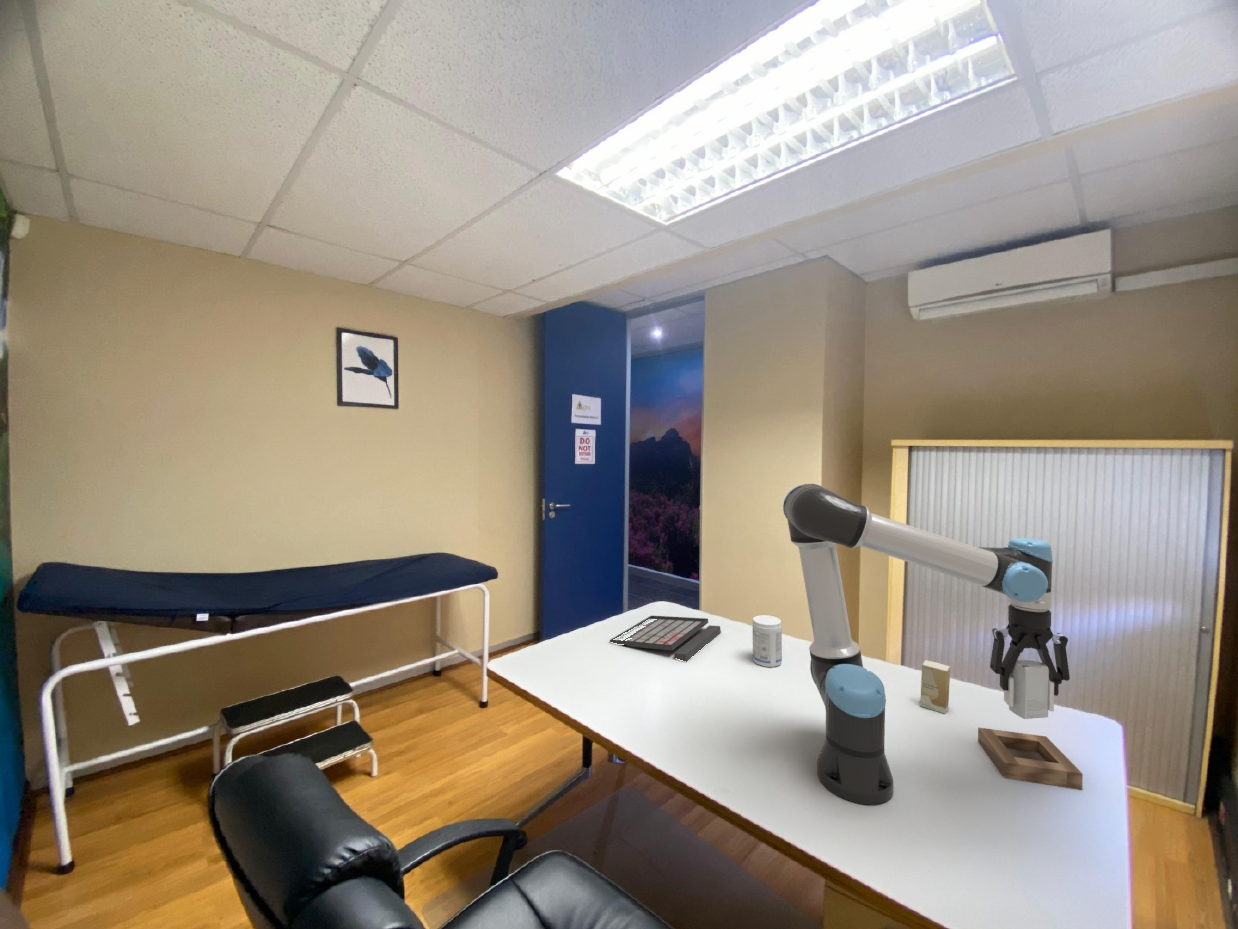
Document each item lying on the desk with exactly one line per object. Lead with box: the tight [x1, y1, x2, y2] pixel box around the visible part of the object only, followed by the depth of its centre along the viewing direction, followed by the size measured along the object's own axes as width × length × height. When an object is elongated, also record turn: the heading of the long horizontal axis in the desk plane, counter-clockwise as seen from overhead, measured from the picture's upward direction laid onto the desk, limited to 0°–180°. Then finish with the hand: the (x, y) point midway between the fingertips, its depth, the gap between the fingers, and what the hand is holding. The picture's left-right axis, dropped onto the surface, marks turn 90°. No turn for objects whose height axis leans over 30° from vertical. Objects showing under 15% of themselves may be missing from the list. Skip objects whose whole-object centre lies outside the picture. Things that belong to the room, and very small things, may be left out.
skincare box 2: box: [1008, 658, 1049, 720], centre depth 112 cm, size 6×4×12 cm
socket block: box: [977, 727, 1084, 791], centre depth 113 cm, size 14×14×4 cm
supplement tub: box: [752, 614, 783, 668], centre depth 167 cm, size 10×10×15 cm
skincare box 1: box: [919, 659, 951, 715], centre depth 137 cm, size 6×4×12 cm
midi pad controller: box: [609, 615, 722, 663], centre depth 190 cm, size 32×7×31 cm
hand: (1028, 705), depth 112 cm, fingers closed on skincare box 2, 7 cm apart
